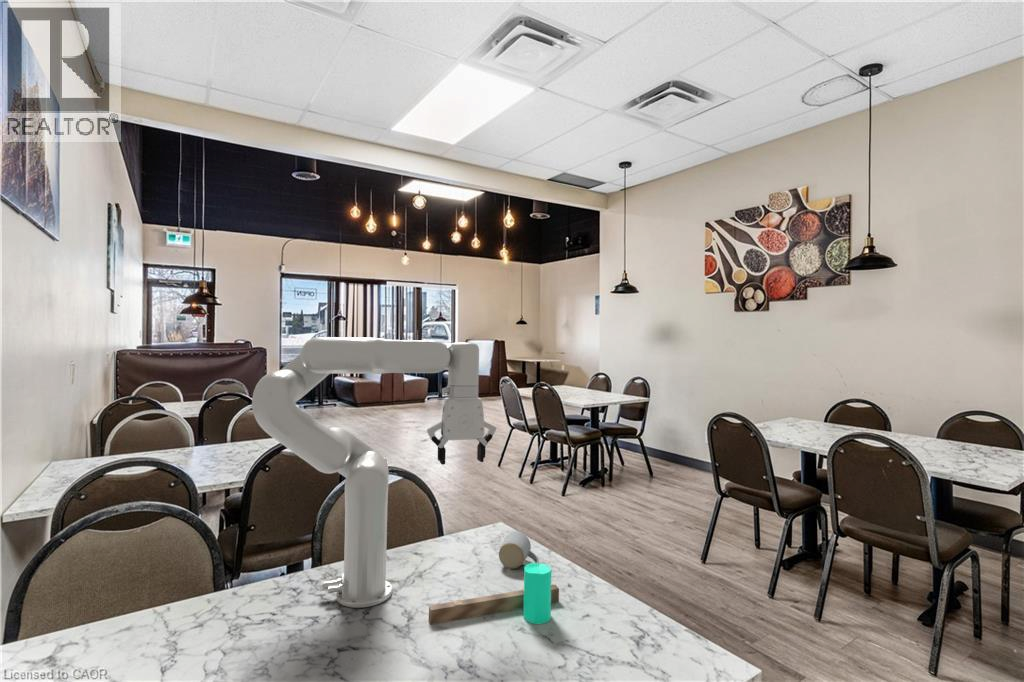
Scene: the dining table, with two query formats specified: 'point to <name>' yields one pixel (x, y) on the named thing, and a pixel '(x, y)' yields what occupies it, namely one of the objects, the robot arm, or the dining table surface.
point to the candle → (537, 593)
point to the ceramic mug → (516, 550)
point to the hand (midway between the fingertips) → (461, 462)
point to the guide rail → (481, 606)
